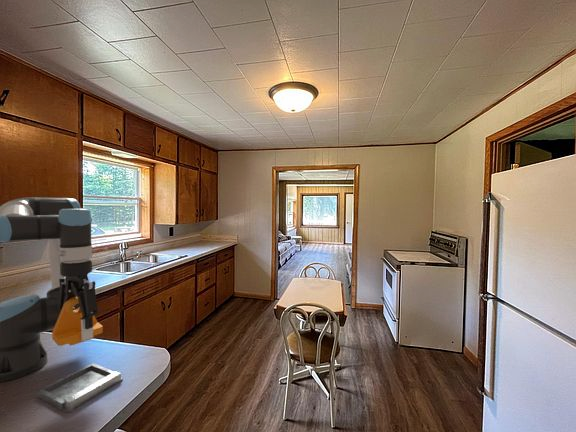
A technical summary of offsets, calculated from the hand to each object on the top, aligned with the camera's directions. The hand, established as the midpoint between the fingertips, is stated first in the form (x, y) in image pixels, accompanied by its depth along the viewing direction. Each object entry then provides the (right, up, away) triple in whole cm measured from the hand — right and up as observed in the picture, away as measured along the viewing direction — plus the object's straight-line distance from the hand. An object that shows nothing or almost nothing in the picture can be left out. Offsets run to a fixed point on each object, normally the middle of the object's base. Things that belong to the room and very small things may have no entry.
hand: (78, 335), depth 81 cm
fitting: (+1, -16, 0) cm, 16 cm away
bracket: (0, -1, 0) cm, 1 cm away
